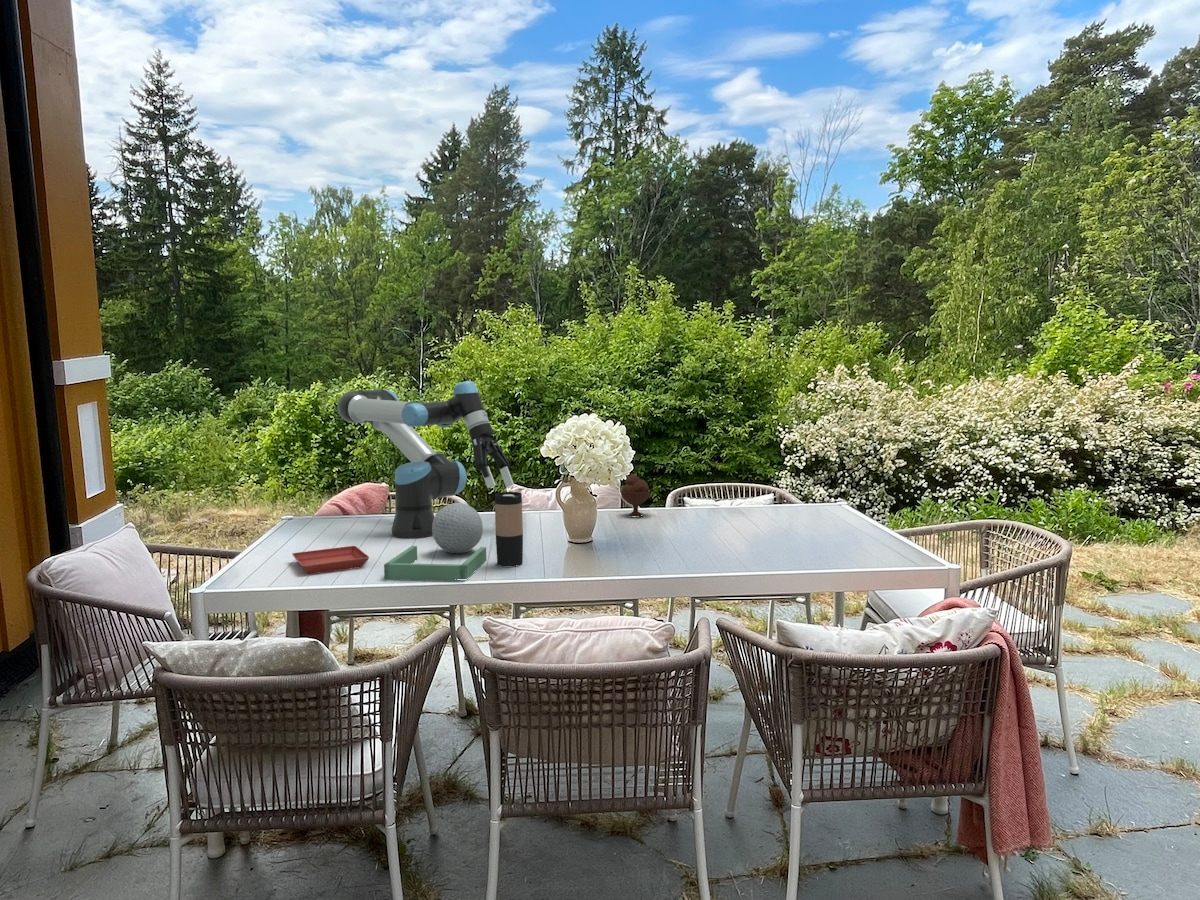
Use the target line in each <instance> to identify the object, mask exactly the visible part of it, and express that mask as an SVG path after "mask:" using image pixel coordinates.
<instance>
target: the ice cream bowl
mask: <svg viewBox="0 0 1200 900" xmlns="http://www.w3.org/2000/svg"><path fill="white" fill-rule="evenodd" d="M624 483H625V485H624V486H623V487H622V489H621V490H620V495H621V498H622V499H623V500H624V501H625V502H626V503H627V504H630V505H631V506H632V508H633V509H632V512H630V513H629V514H628V515H629V516H641V515H642V512H639V506H640V505H642V504H643V503H645V502H646V501H647V500H648V498H649V497H650V494H651V489H650V488H649V487H650V486H649V485H648V483H647V482H646V481H645V480H644V479H641V478H640V477H639V476H638V475H636V474H632V475H628V476H627V478H626V479H625V481H624ZM629 516H628V517H629Z"/></svg>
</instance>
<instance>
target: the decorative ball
mask: <svg viewBox="0 0 1200 900" xmlns="http://www.w3.org/2000/svg"><path fill="white" fill-rule="evenodd" d="M483 527H484V524H483V521H482V518H481V516H480V513H478V511H477V510H476V509H475V508H474V507H472V506H470V505H469V504H466V503H463V502H462V503H461V502H453V503H450V504H447V505H445V506H443V507H442V508H440V510H438V512H437V513H436V514H434V520H433V523H432V534H433V535H432V538H433V540H434V541H435V543H436V544H437V545H438V547H439V548H441V549H442V550H444V551H445V552H448V553H451V554H463V553H467V552H468V551H470V550H472V549H474V548H475V547H476V546H477V545H478V543H479V542H480V540H481V539H482V535H483V532H484V528H483Z"/></svg>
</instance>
